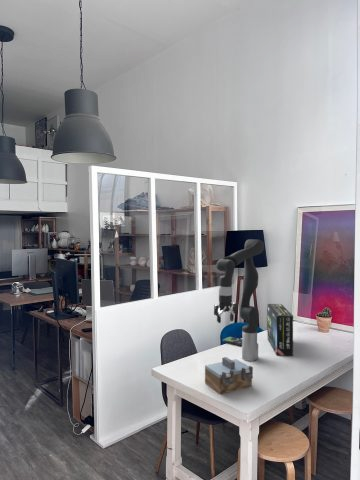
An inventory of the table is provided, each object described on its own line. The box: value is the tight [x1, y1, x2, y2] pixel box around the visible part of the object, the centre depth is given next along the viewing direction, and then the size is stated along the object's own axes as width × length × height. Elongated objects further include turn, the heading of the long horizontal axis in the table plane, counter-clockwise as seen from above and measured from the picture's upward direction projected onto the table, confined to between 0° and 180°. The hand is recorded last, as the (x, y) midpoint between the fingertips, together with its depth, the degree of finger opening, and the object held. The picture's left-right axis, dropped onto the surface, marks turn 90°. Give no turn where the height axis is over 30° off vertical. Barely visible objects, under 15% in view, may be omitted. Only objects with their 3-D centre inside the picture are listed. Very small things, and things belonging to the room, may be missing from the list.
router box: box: [266, 303, 294, 357], centre depth 249 cm, size 36×11×27 cm, turn 177°
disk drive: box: [221, 336, 242, 348], centre depth 259 cm, size 10×3×15 cm
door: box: [204, 356, 250, 378], centre depth 189 cm, size 20×16×5 cm
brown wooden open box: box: [204, 365, 254, 395], centre depth 189 cm, size 20×16×11 cm
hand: (225, 321), depth 209 cm, fingers open, 8 cm apart
